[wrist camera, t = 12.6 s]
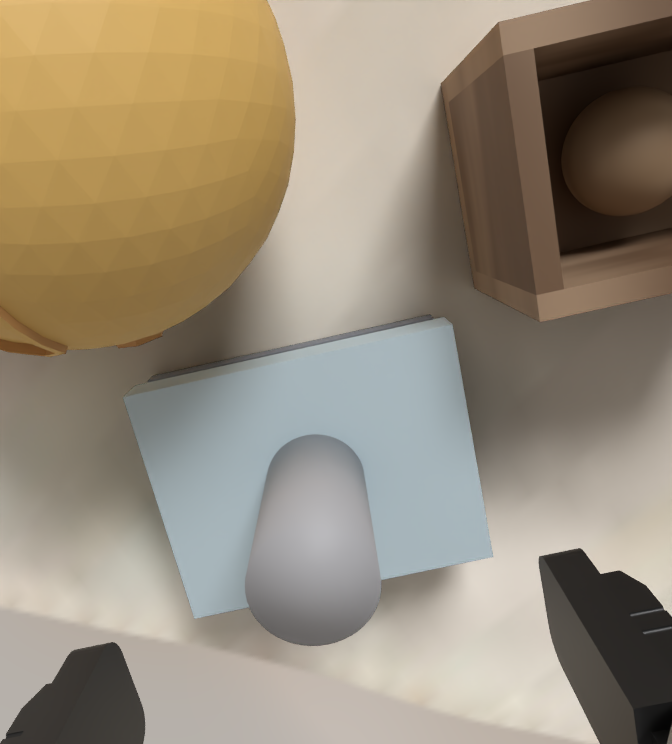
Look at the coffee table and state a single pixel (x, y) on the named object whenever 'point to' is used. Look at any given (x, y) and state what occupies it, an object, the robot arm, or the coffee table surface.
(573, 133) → the cork ball
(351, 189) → the coffee table surface
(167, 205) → the stress ball
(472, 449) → the lid
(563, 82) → the walnut box
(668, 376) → the coffee table surface
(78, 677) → the robot arm
